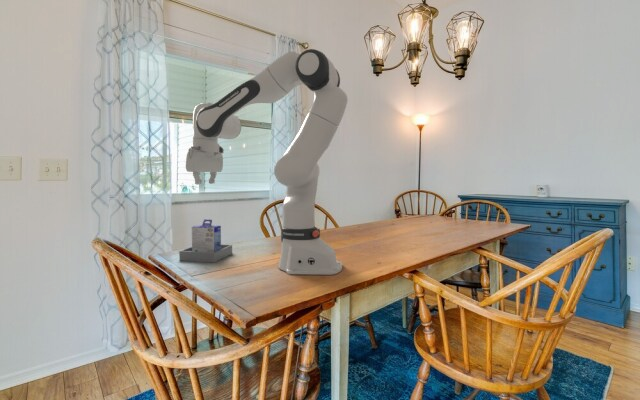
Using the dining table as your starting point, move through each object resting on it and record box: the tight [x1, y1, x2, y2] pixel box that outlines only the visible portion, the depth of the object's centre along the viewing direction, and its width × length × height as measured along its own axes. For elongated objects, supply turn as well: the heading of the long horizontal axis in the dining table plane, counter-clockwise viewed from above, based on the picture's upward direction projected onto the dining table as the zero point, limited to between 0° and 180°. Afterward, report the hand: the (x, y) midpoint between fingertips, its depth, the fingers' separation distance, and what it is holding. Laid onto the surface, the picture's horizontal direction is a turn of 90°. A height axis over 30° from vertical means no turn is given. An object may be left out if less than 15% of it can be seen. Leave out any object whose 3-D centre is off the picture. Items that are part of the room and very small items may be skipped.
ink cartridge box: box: [191, 218, 222, 253], centre depth 130 cm, size 10×6×14 cm, turn 78°
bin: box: [178, 243, 233, 264], centre depth 130 cm, size 14×14×4 cm
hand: (205, 184), depth 128 cm, fingers open, 8 cm apart
